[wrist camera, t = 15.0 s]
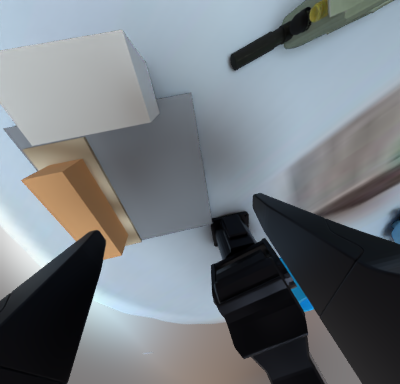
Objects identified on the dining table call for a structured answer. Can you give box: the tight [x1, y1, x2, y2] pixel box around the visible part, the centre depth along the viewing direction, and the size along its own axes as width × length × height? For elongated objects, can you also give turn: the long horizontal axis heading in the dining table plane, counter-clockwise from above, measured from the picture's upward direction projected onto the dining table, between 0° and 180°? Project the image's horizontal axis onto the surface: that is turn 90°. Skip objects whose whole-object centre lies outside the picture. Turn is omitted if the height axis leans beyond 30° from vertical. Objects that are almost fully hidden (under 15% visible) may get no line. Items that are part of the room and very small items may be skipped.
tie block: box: [0, 30, 160, 146], centre depth 11 cm, size 4×7×7 cm, turn 99°
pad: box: [22, 137, 142, 246], centre depth 20 cm, size 16×6×1 cm, turn 9°
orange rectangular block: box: [21, 159, 128, 260], centre depth 18 cm, size 12×4×4 cm, turn 9°
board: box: [4, 93, 212, 240], centre depth 20 cm, size 18×18×1 cm
